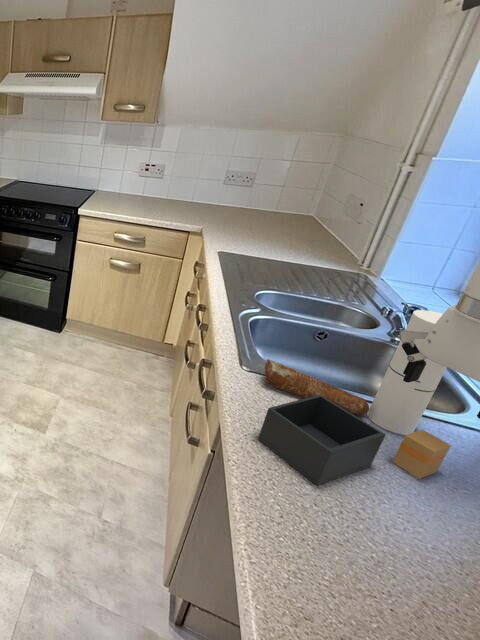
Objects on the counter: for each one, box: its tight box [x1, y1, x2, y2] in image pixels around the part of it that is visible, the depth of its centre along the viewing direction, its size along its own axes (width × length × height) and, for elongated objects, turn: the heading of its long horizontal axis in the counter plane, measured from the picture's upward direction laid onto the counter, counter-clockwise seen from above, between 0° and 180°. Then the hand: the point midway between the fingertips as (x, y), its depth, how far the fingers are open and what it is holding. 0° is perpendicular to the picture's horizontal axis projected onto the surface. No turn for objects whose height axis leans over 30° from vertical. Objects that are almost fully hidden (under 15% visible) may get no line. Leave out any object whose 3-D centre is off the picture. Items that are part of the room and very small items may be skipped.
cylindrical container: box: [367, 309, 448, 436], centre depth 83 cm, size 7×7×25 cm
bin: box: [257, 395, 386, 486], centre depth 78 cm, size 14×11×8 cm
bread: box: [264, 358, 370, 415], centre depth 94 cm, size 6×19×6 cm, turn 50°
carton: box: [392, 428, 452, 480], centre depth 76 cm, size 5×4×6 cm
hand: (445, 397), depth 71 cm, fingers open, 9 cm apart
